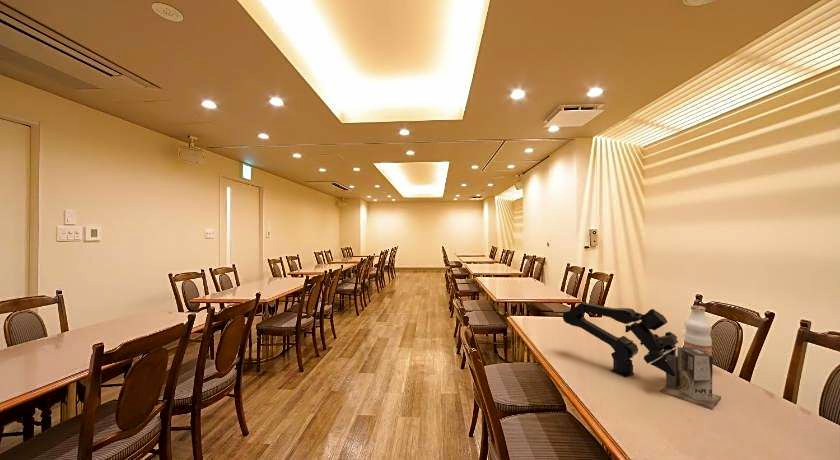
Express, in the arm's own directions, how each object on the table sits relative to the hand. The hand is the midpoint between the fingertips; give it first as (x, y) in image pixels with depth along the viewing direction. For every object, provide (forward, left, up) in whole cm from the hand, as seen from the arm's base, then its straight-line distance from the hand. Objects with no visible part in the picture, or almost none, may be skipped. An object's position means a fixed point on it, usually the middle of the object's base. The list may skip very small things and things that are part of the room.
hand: (678, 372), depth 123 cm
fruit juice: (-8, +31, -7) cm, 33 cm away
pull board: (+3, +1, -7) cm, 8 cm away
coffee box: (+5, +1, -6) cm, 8 cm away
